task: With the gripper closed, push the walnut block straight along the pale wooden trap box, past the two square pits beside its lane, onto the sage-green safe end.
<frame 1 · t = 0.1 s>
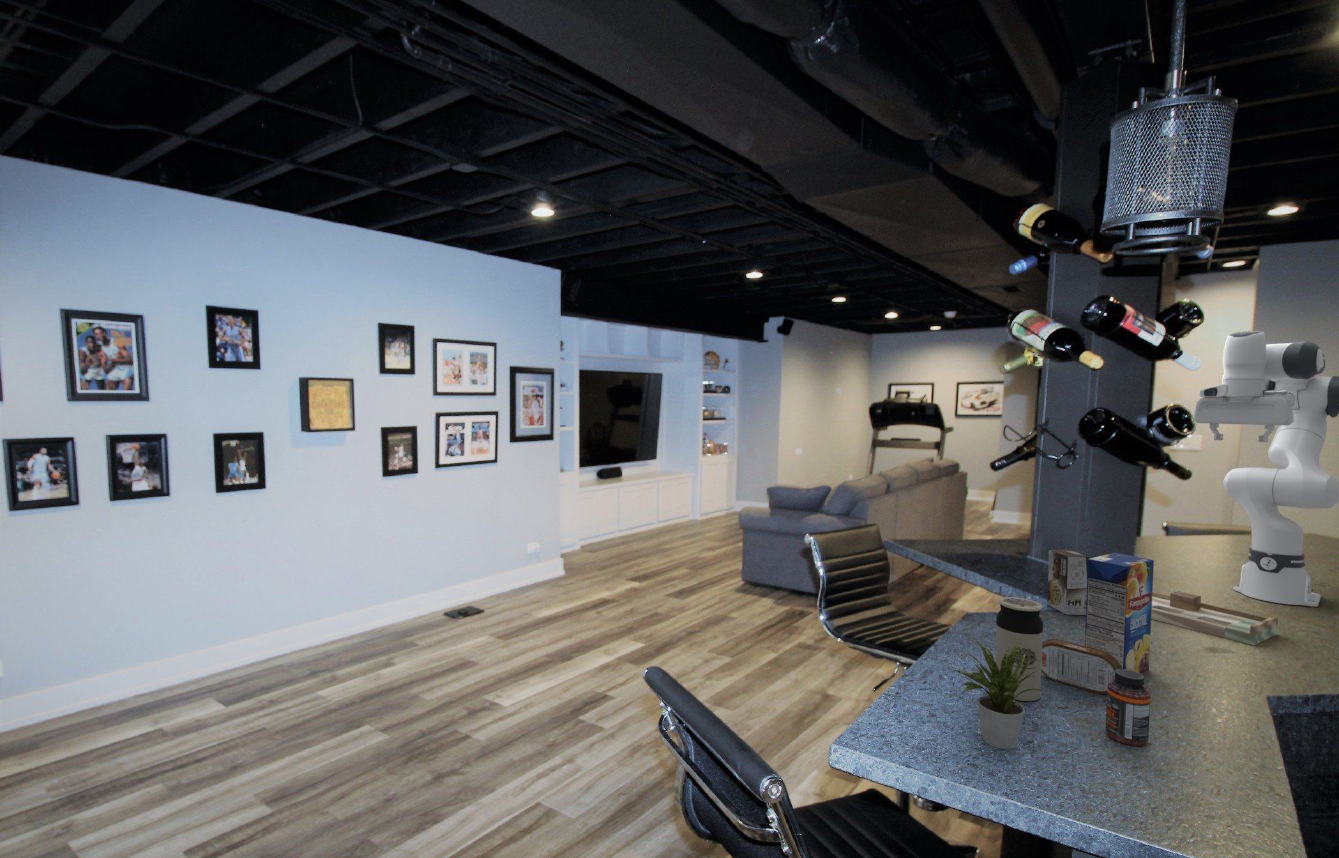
hand: (1240, 441, 170), 48 cm above the countertop, tool pointing down, fingers open, 8 cm apart
supplement bottle: (1126, 739, 106), on the countertop
walnut block: (1185, 607, 170), point 2 cm above the countertop, touching trap box
coffee box: (1067, 610, 174), on the countertop
tin: (1076, 687, 126), on the countertop
travel mug: (1016, 693, 123), on the countertop
house plant: (997, 737, 106), on the countertop
juice carton: (1116, 670, 134), on the countertop
trap box: (1193, 621, 166), on the countertop
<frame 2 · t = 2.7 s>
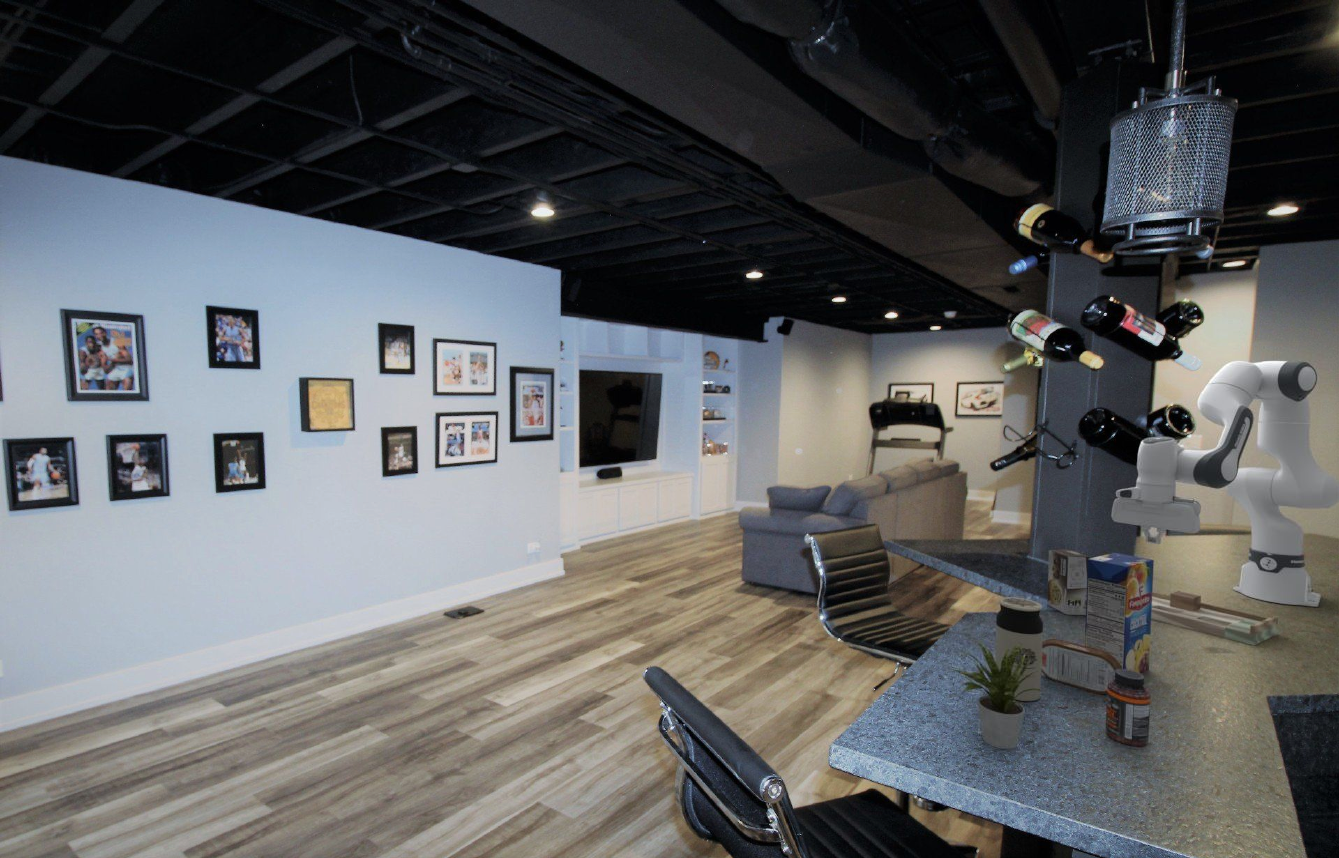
hand: (1152, 543, 176), 19 cm above the countertop, tool pointing down, fingers closed
nothing on the countertop moved.
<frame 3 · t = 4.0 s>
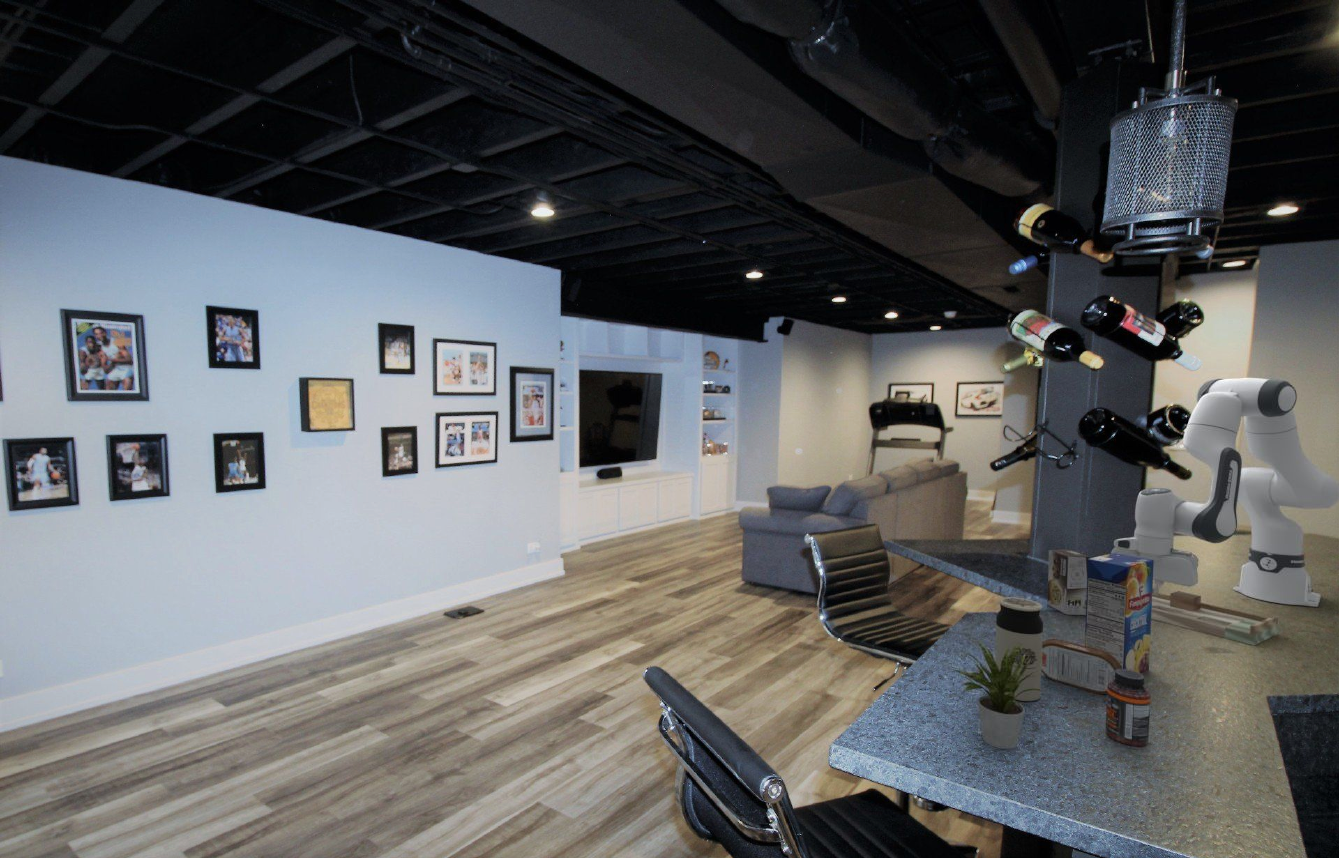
hand: (1150, 594, 176), 4 cm above the countertop, tool pointing down, fingers closed
nothing on the countertop moved.
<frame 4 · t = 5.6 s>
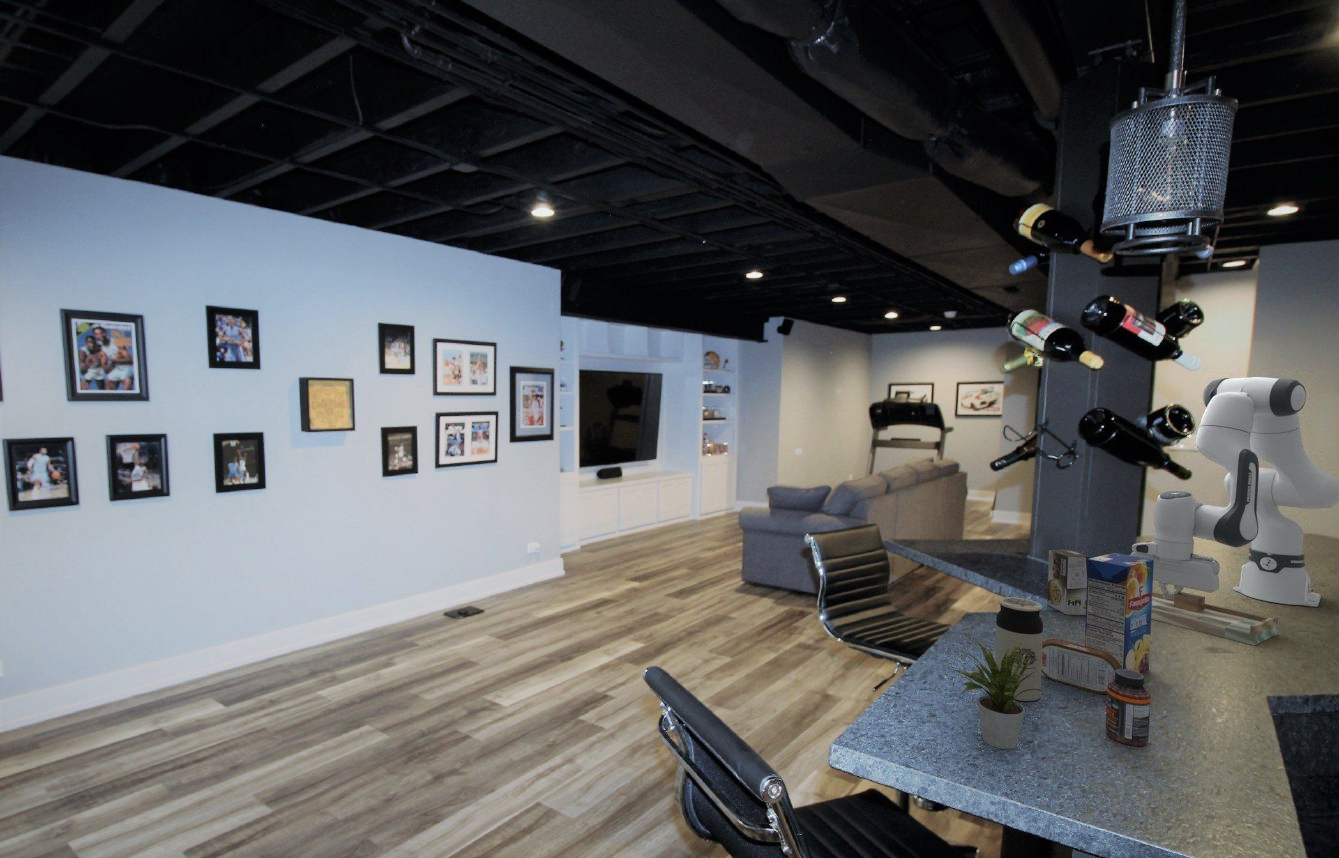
hand: (1170, 599, 173), 4 cm above the countertop, tool pointing down, fingers closed
walnut block: (1188, 608, 169), point 3 cm above the countertop, touching gripper
everything else where it was.
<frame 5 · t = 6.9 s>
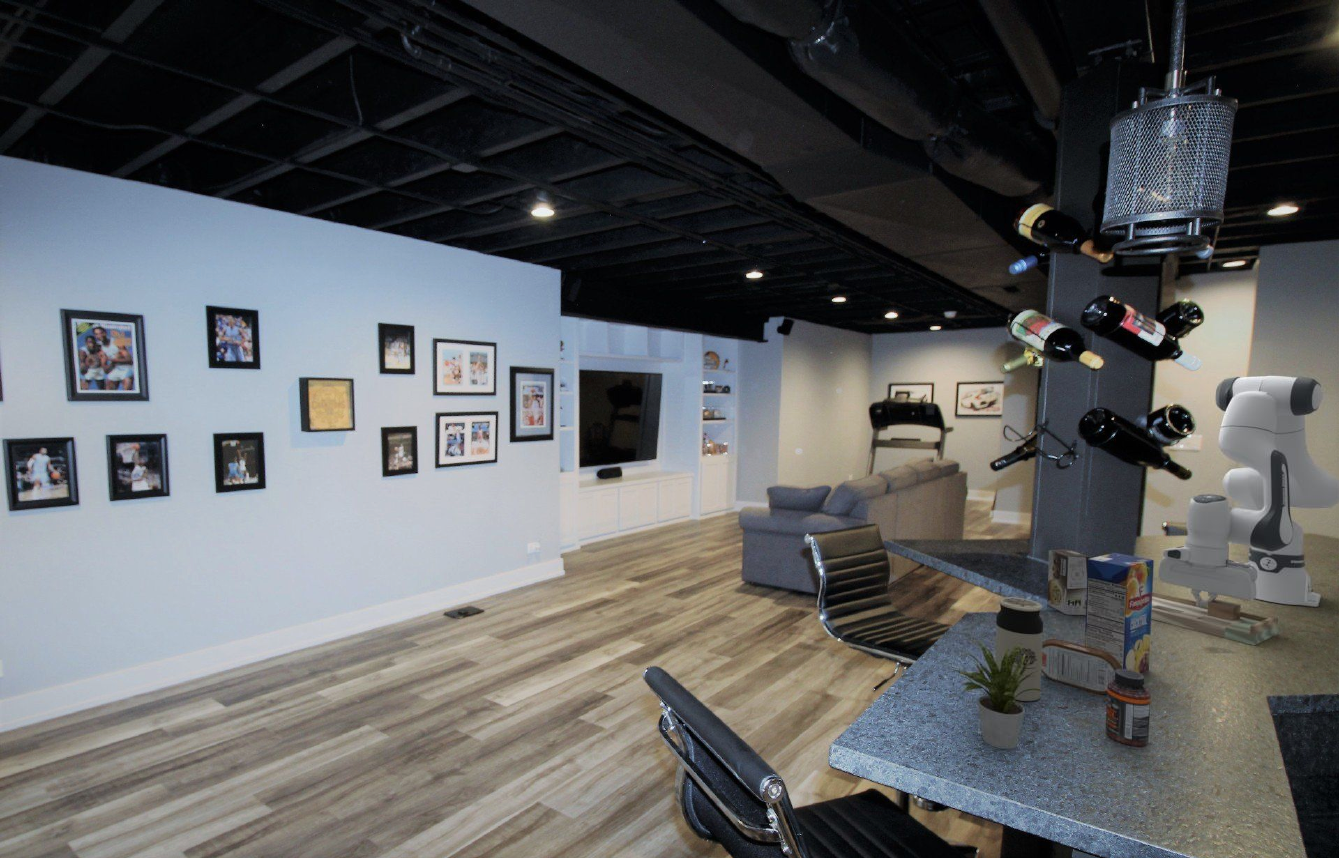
hand: (1203, 607, 166), 4 cm above the countertop, tool pointing down, fingers closed
walnut block: (1223, 616, 162), point 3 cm above the countertop, touching gripper
everything else where it was.
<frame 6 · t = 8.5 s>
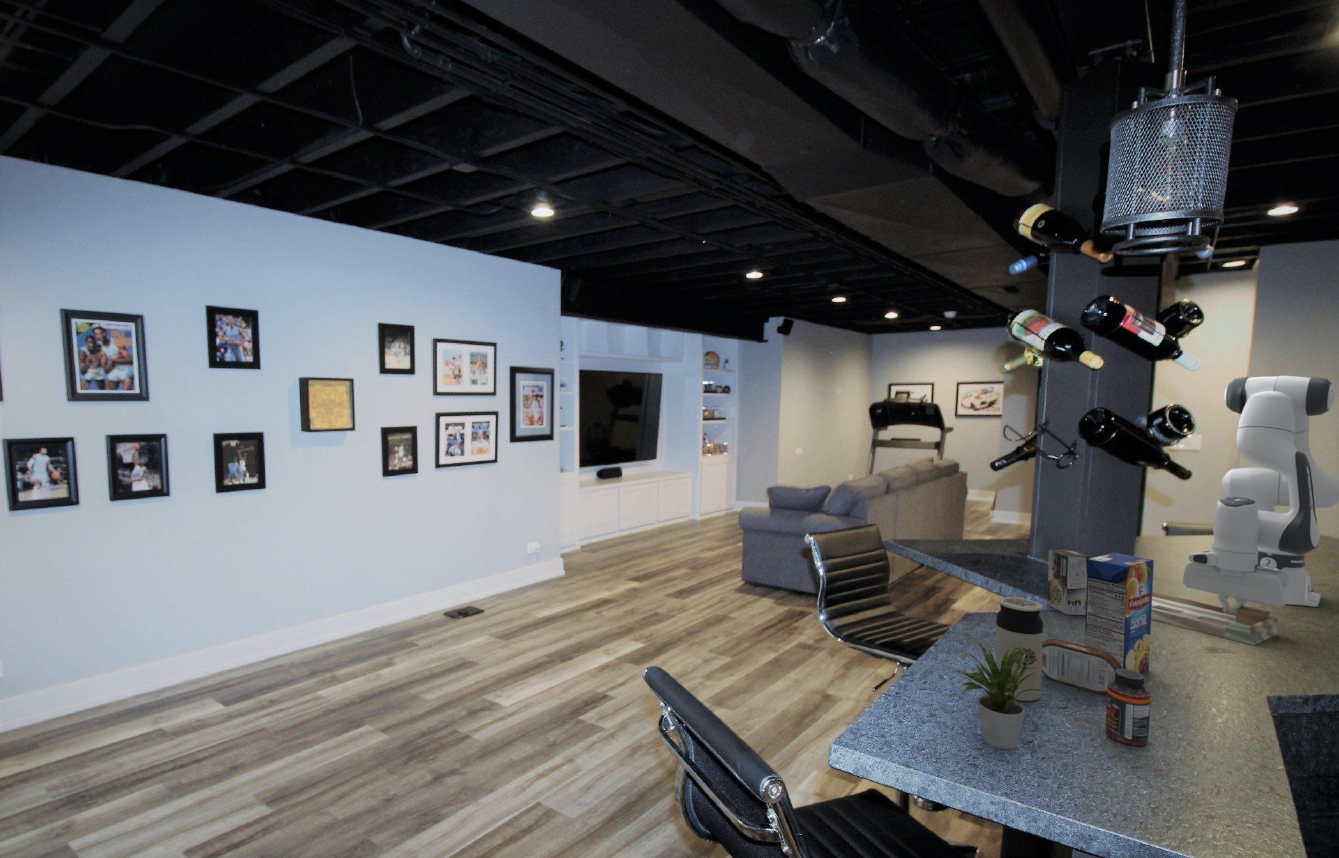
hand: (1231, 613, 161), 4 cm above the countertop, tool pointing down, fingers closed
walnut block: (1252, 623, 157), point 2 cm above the countertop, touching gripper, trap box
everything else where it was.
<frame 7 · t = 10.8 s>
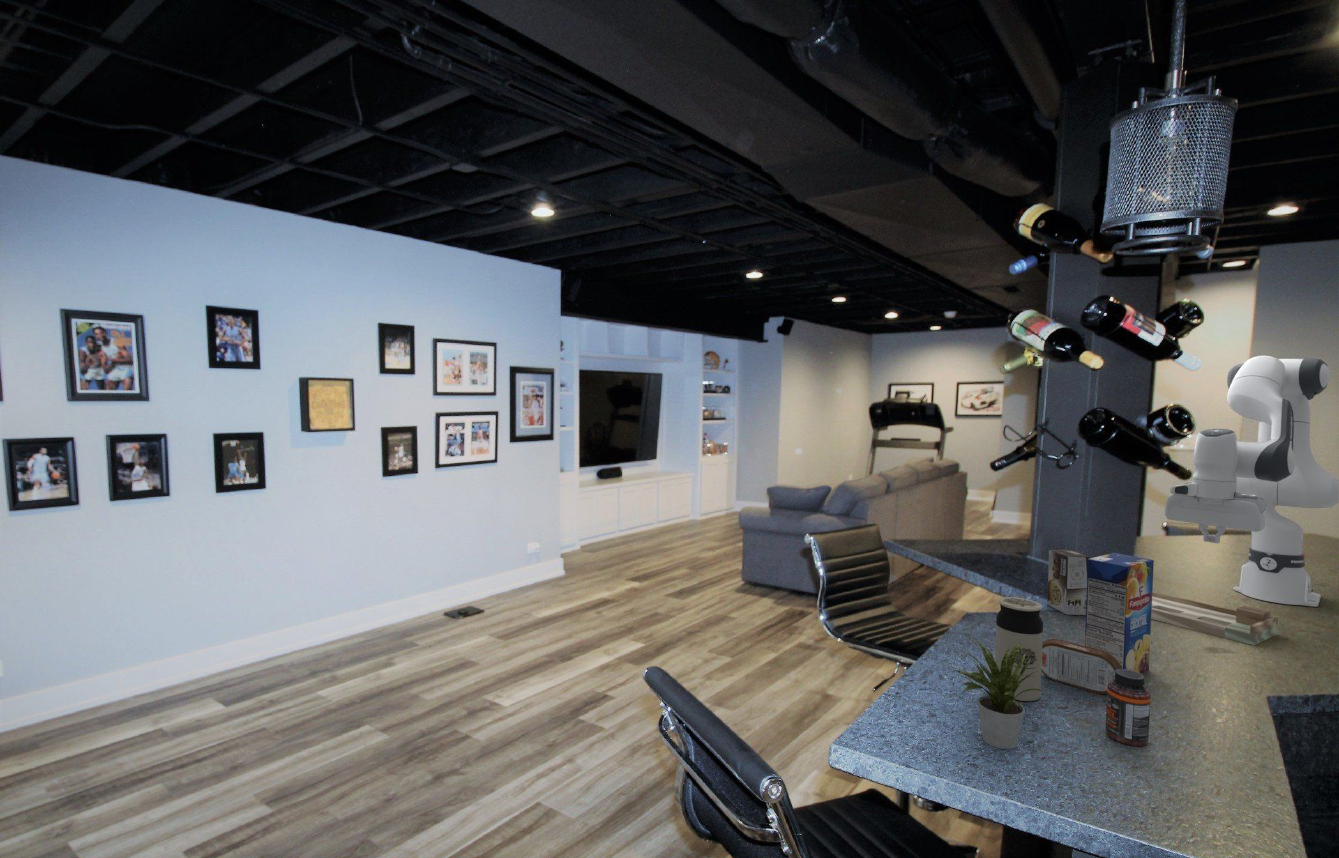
hand: (1211, 542, 165), 21 cm above the countertop, tool pointing down, fingers closed
walnut block: (1252, 623, 157), point 2 cm above the countertop, touching trap box
everything else where it was.
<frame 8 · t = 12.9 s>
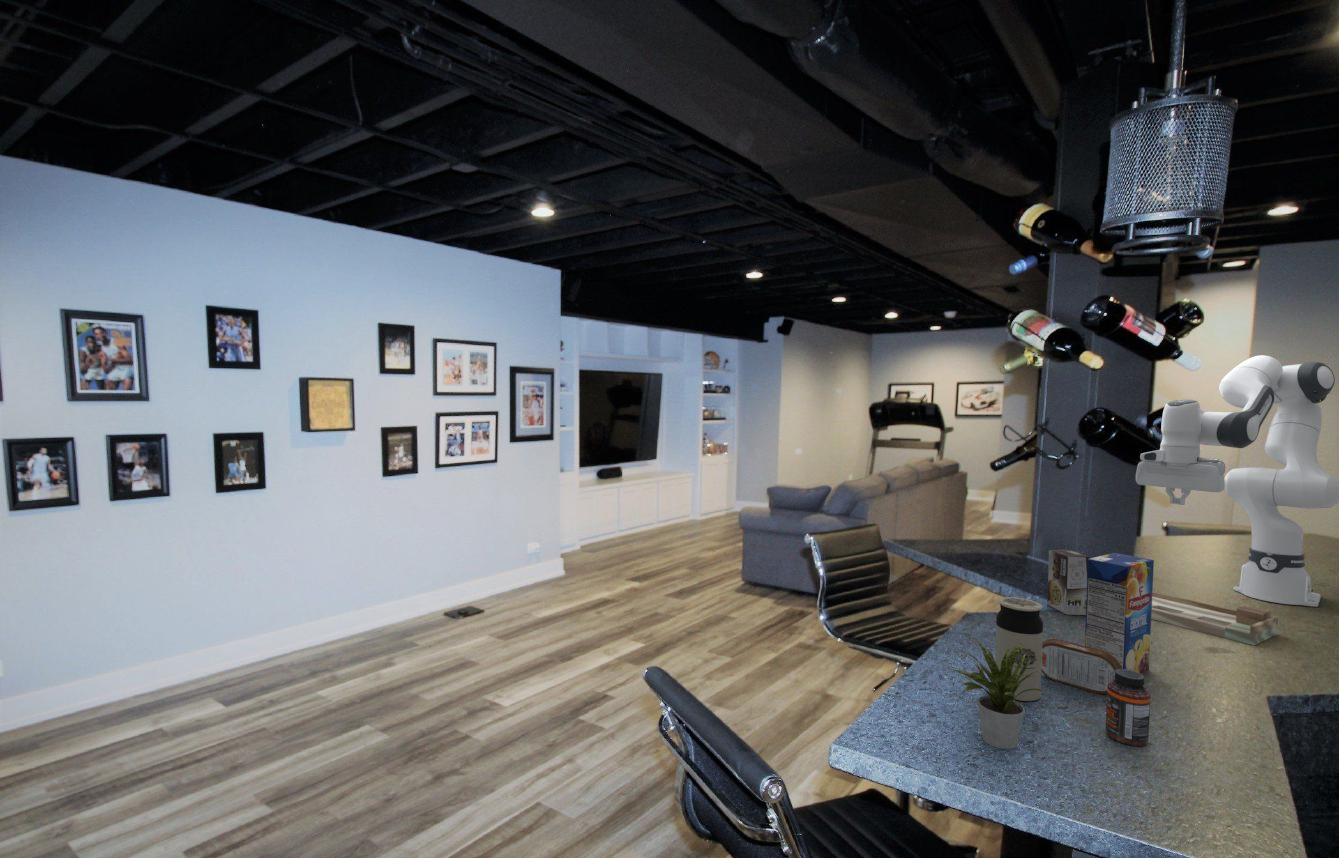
hand: (1177, 504, 179), 29 cm above the countertop, tool pointing down, fingers closed
nothing on the countertop moved.
at the end: walnut block 0.2 cm from the target spot, point 2.5 cm above the countertop; walnut block tilted 0°; walnut block moved 14.1 cm from its start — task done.
